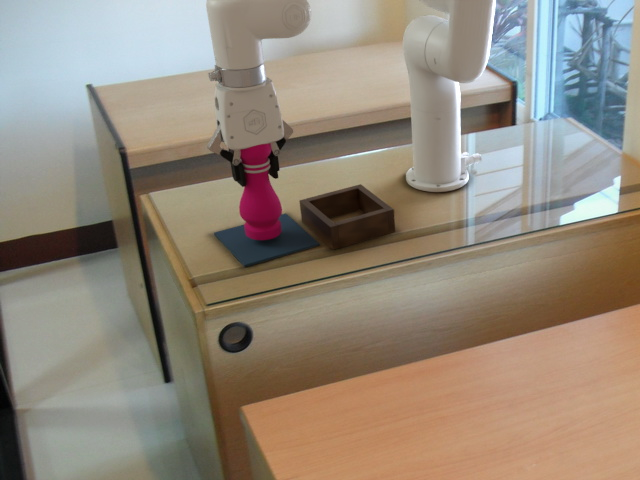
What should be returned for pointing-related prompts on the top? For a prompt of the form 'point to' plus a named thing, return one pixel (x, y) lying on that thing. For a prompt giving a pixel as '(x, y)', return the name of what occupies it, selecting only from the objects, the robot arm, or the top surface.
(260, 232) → the pepper mill
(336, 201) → the stand
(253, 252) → the mat
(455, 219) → the top surface
